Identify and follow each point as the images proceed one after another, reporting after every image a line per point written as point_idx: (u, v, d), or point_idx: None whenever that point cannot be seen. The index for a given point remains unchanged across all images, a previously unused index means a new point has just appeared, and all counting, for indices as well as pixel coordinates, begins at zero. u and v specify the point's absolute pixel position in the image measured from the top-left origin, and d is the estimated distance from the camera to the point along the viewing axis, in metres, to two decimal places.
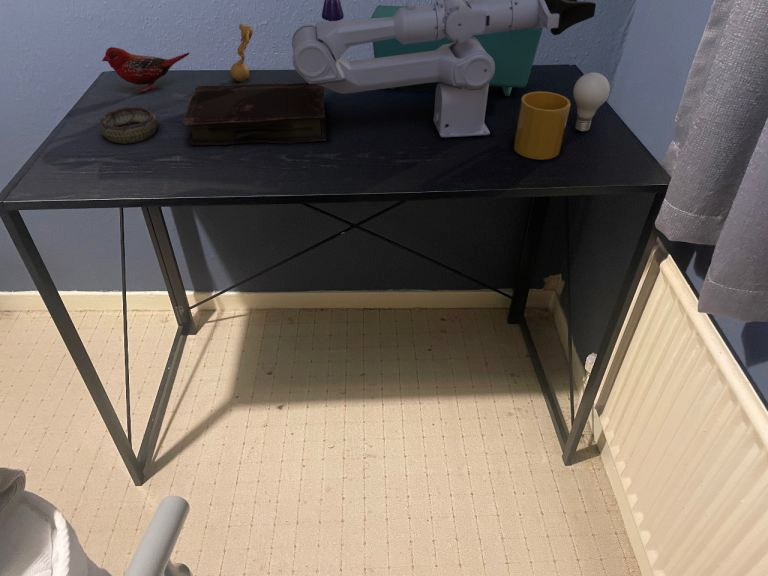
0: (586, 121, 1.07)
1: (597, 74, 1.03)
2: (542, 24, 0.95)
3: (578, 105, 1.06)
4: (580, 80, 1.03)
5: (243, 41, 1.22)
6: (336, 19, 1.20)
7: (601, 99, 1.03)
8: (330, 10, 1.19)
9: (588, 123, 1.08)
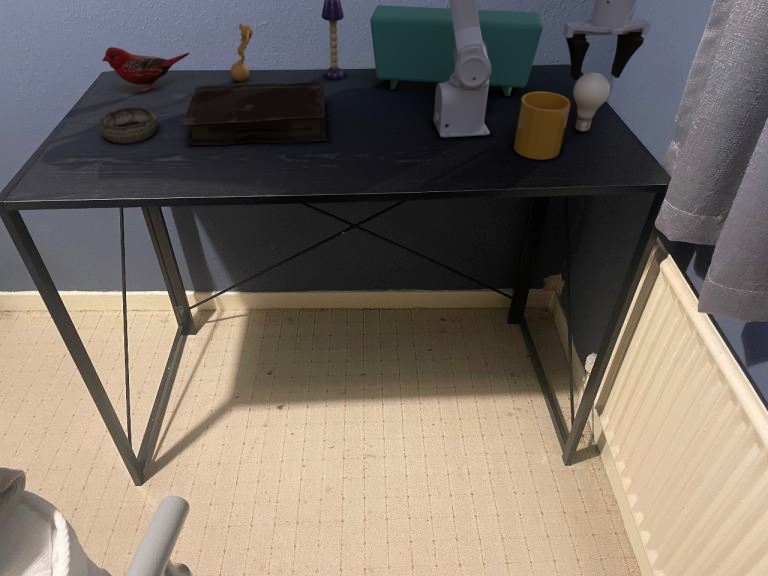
0: (586, 121, 1.07)
1: (597, 74, 1.03)
2: (578, 22, 0.98)
3: (578, 105, 1.06)
4: (580, 80, 1.03)
5: (243, 41, 1.22)
6: (336, 19, 1.20)
7: (601, 99, 1.03)
8: (330, 10, 1.19)
9: (588, 123, 1.08)
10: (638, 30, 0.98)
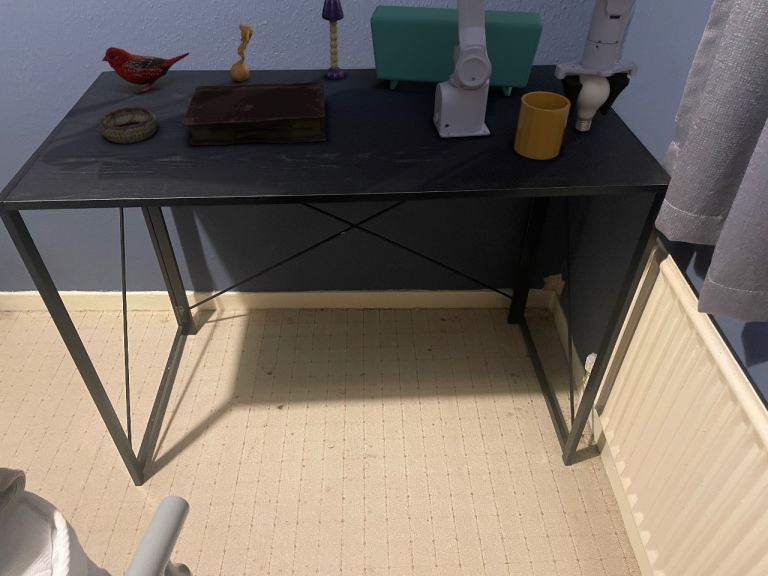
0: (586, 121, 1.07)
1: None
2: (569, 64, 1.02)
3: (578, 105, 1.06)
4: (580, 80, 1.03)
5: (243, 41, 1.22)
6: (336, 19, 1.20)
7: (601, 99, 1.03)
8: (330, 10, 1.19)
9: (588, 123, 1.08)
10: (626, 71, 1.03)
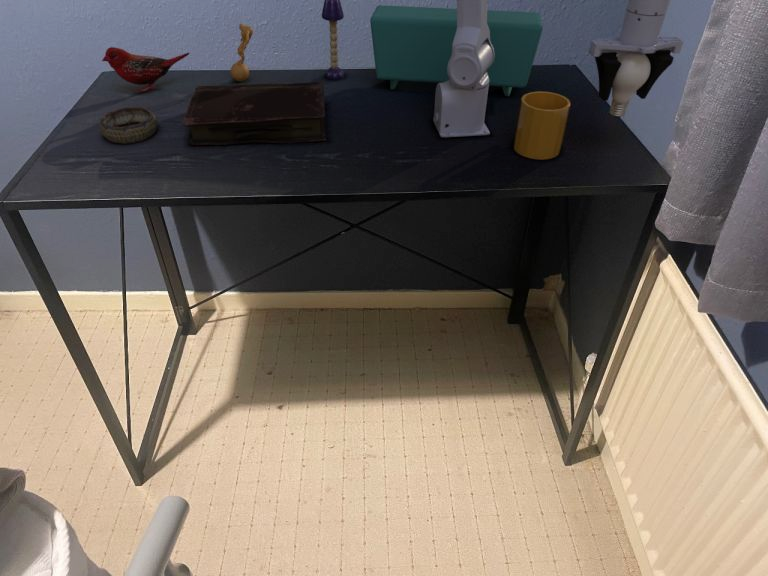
0: (622, 105, 0.96)
1: None
2: (606, 40, 0.91)
3: (614, 87, 0.94)
4: None
5: (243, 41, 1.22)
6: (336, 19, 1.20)
7: (641, 80, 0.92)
8: (330, 10, 1.19)
9: (624, 107, 0.96)
10: (669, 48, 0.92)
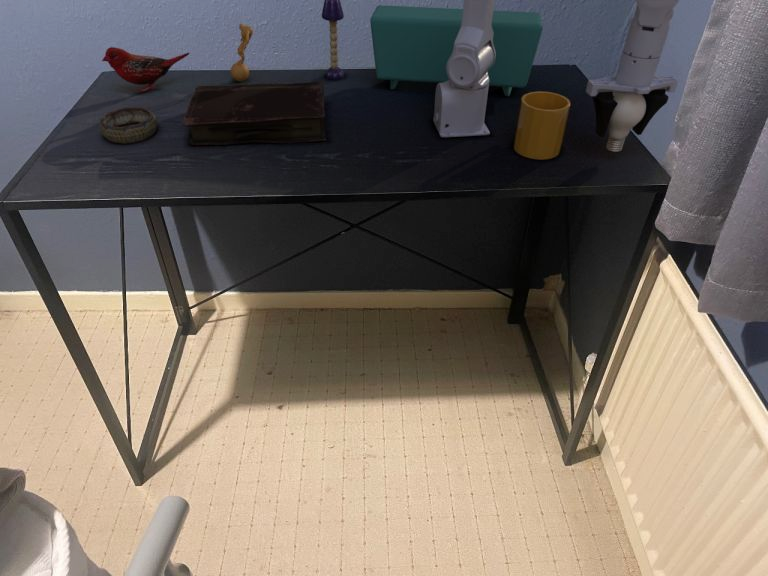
0: (619, 141, 0.98)
1: None
2: (602, 80, 0.93)
3: (611, 124, 0.97)
4: (614, 97, 0.94)
5: (243, 41, 1.22)
6: (336, 19, 1.20)
7: (637, 118, 0.94)
8: (330, 10, 1.19)
9: (621, 143, 0.99)
10: (664, 87, 0.94)
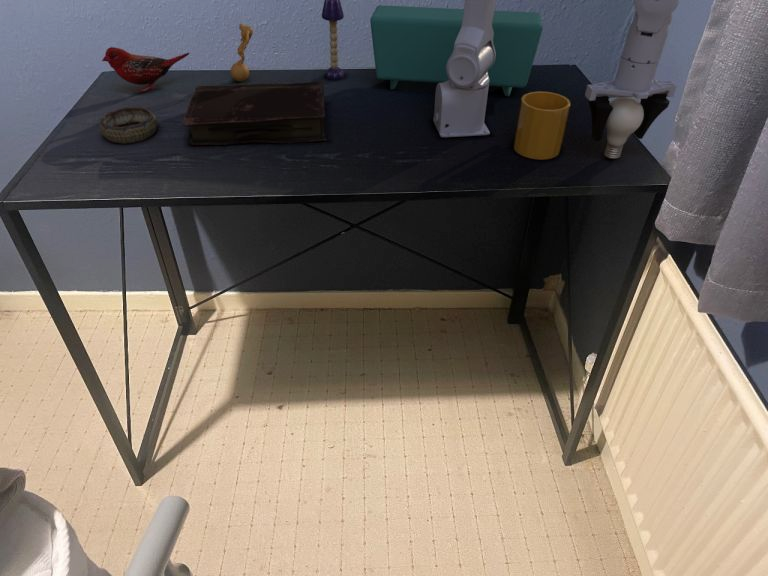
0: (617, 148, 0.99)
1: (630, 98, 0.94)
2: (601, 84, 0.94)
3: (609, 131, 0.98)
4: (611, 105, 0.95)
5: (243, 41, 1.22)
6: (336, 19, 1.20)
7: (635, 126, 0.95)
8: (330, 10, 1.19)
9: (619, 150, 1.00)
10: (663, 92, 0.95)
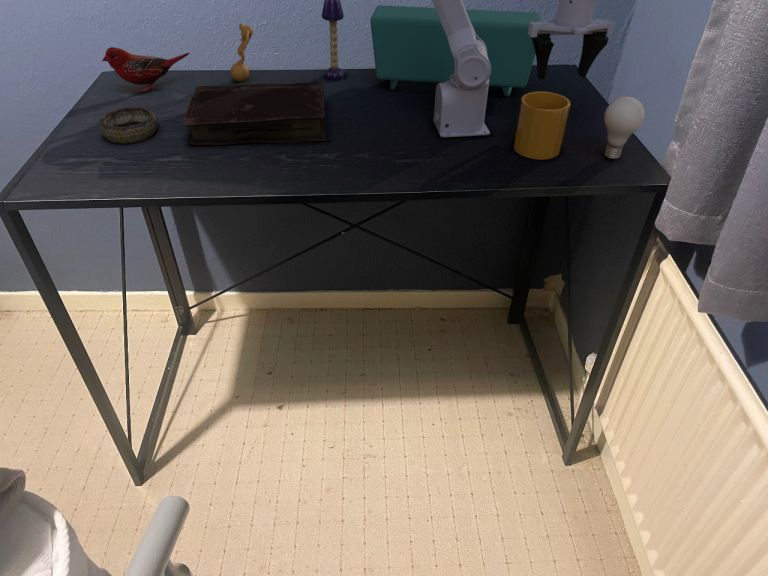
0: (617, 148, 0.99)
1: (631, 99, 0.94)
2: (543, 22, 0.98)
3: (609, 131, 0.97)
4: (613, 105, 0.95)
5: (243, 41, 1.22)
6: (336, 19, 1.20)
7: (635, 126, 0.95)
8: (330, 10, 1.19)
9: (619, 150, 1.00)
10: (603, 30, 0.98)
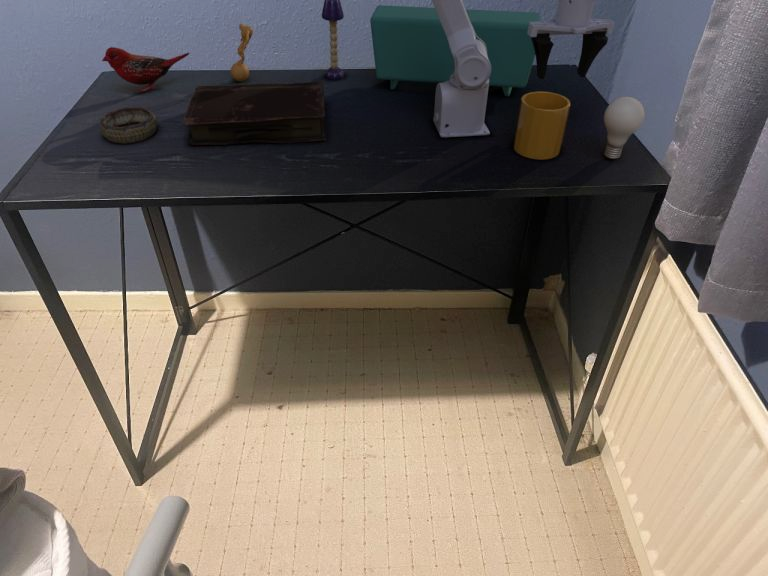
0: (617, 148, 0.99)
1: (631, 99, 0.94)
2: (543, 22, 0.98)
3: (609, 131, 0.97)
4: (612, 105, 0.95)
5: (243, 41, 1.22)
6: (336, 19, 1.20)
7: (635, 126, 0.95)
8: (330, 10, 1.19)
9: (619, 150, 1.00)
10: (602, 30, 0.99)
